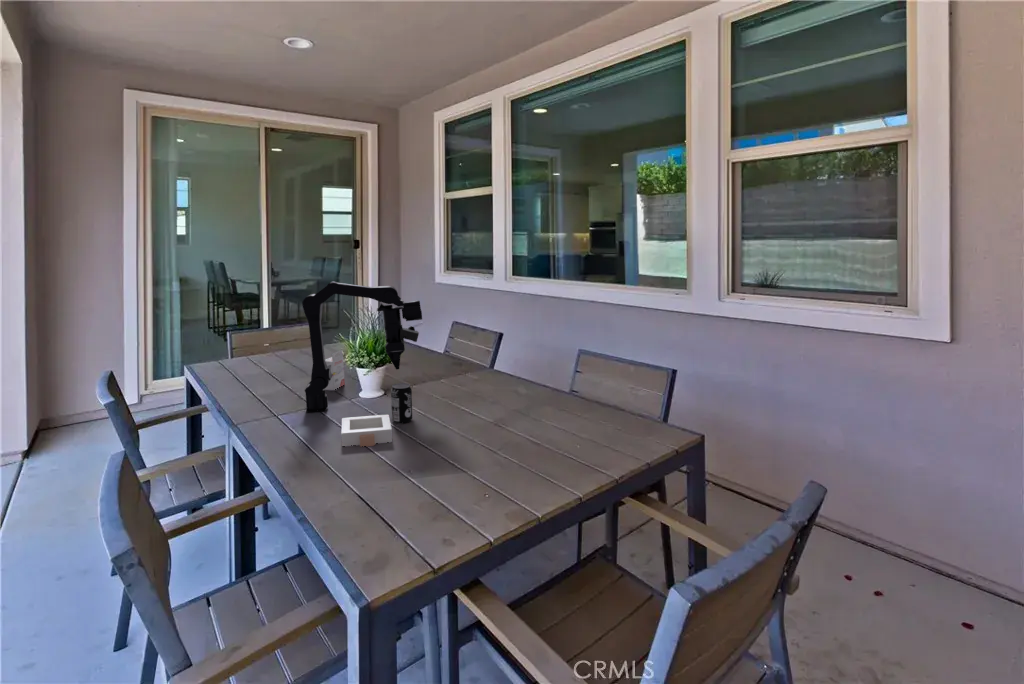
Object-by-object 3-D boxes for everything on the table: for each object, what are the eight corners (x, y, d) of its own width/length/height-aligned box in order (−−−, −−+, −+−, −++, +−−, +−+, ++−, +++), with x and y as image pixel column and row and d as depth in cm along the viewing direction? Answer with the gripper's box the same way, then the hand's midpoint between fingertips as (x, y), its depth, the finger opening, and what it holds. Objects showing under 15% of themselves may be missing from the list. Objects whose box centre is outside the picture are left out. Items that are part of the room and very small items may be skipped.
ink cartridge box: (333, 384, 223) (332, 348, 220) (345, 385, 222) (343, 349, 219) (322, 390, 215) (320, 353, 212) (334, 390, 214) (332, 353, 211)
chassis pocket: (341, 448, 156) (341, 435, 155) (342, 430, 170) (342, 418, 170) (392, 444, 159) (392, 430, 159) (388, 426, 174) (388, 414, 173)
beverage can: (413, 417, 183) (412, 382, 181) (410, 424, 176) (409, 388, 174) (393, 417, 183) (392, 382, 180) (390, 424, 176) (388, 388, 174)
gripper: (417, 324, 183) (422, 369, 186) (414, 316, 201) (419, 358, 204) (383, 327, 181) (388, 373, 184) (383, 319, 199) (388, 361, 202)
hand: (397, 366), depth 194 cm, fingers open, 9 cm apart
